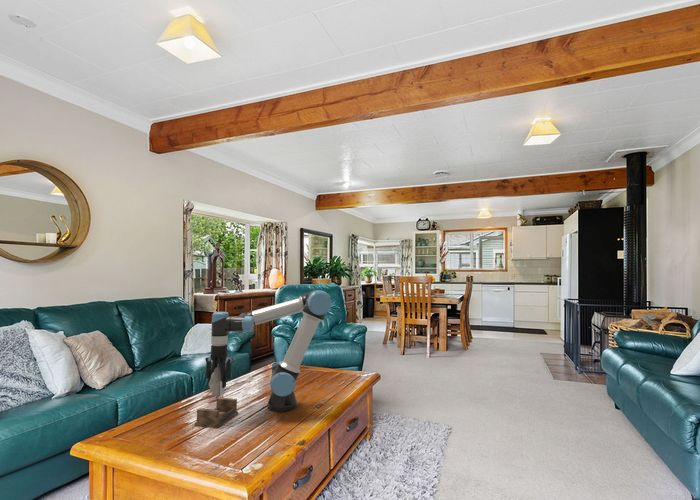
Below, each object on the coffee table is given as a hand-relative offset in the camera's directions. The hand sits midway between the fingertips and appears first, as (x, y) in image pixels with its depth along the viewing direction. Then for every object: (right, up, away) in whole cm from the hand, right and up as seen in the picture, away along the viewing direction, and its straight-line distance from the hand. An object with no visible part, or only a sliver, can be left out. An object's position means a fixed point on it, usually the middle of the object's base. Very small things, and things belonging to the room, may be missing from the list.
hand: (217, 394), depth 182 cm
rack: (0, -12, -1) cm, 12 cm away
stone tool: (0, -2, 0) cm, 2 cm away
